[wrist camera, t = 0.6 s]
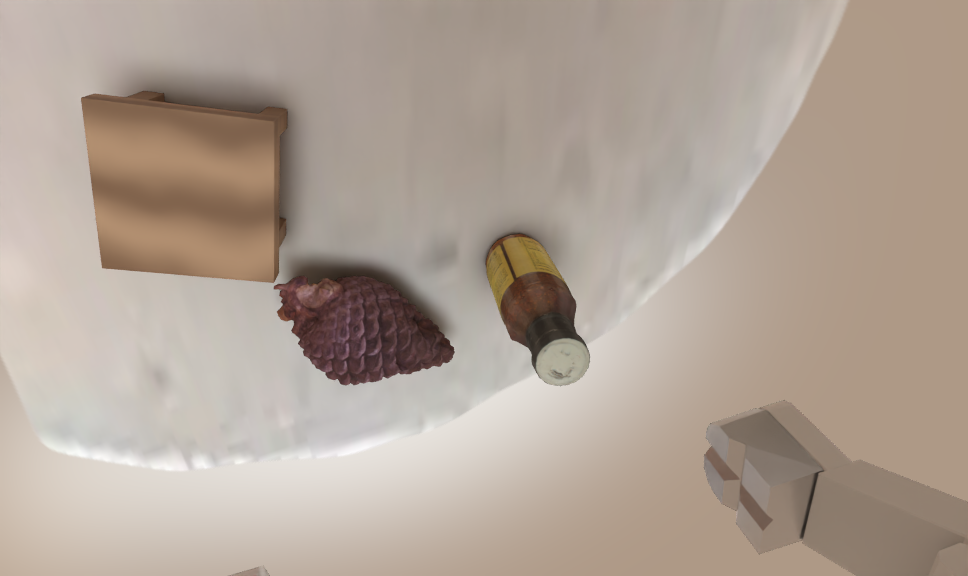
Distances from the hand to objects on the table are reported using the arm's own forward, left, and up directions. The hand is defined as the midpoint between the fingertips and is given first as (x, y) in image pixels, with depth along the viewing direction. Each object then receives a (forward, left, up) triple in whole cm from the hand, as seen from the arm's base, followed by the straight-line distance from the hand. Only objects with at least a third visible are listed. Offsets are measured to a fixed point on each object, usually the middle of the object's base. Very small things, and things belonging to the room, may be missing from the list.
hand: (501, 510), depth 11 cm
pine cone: (+21, -4, -48) cm, 53 cm away
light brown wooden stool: (+8, -18, -48) cm, 52 cm away
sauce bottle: (+14, +10, -48) cm, 51 cm away
